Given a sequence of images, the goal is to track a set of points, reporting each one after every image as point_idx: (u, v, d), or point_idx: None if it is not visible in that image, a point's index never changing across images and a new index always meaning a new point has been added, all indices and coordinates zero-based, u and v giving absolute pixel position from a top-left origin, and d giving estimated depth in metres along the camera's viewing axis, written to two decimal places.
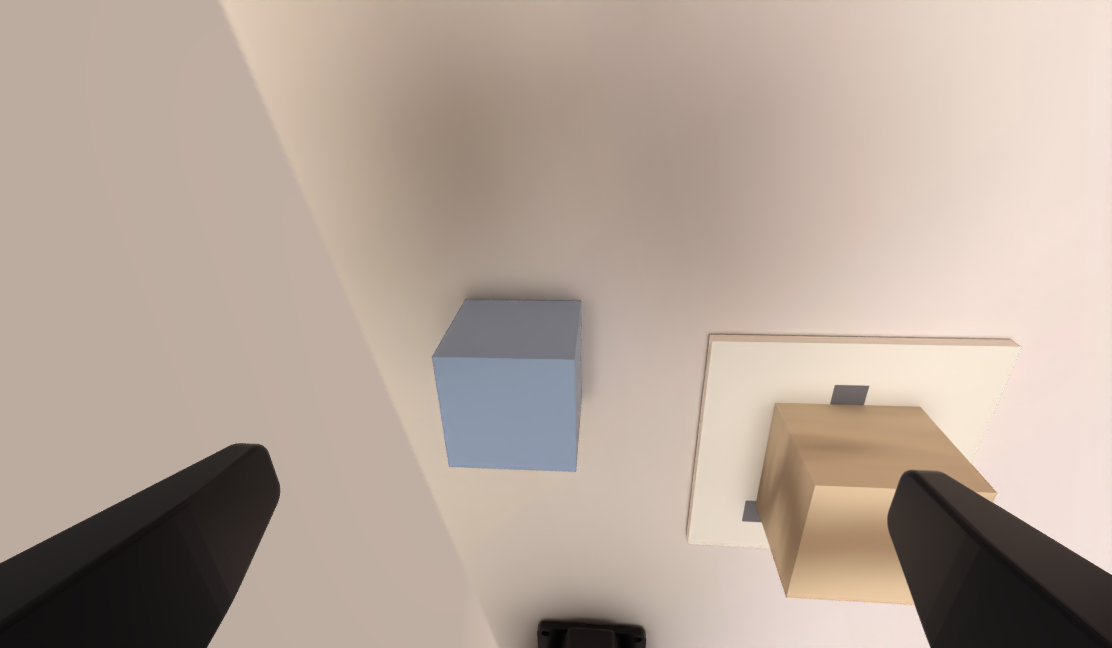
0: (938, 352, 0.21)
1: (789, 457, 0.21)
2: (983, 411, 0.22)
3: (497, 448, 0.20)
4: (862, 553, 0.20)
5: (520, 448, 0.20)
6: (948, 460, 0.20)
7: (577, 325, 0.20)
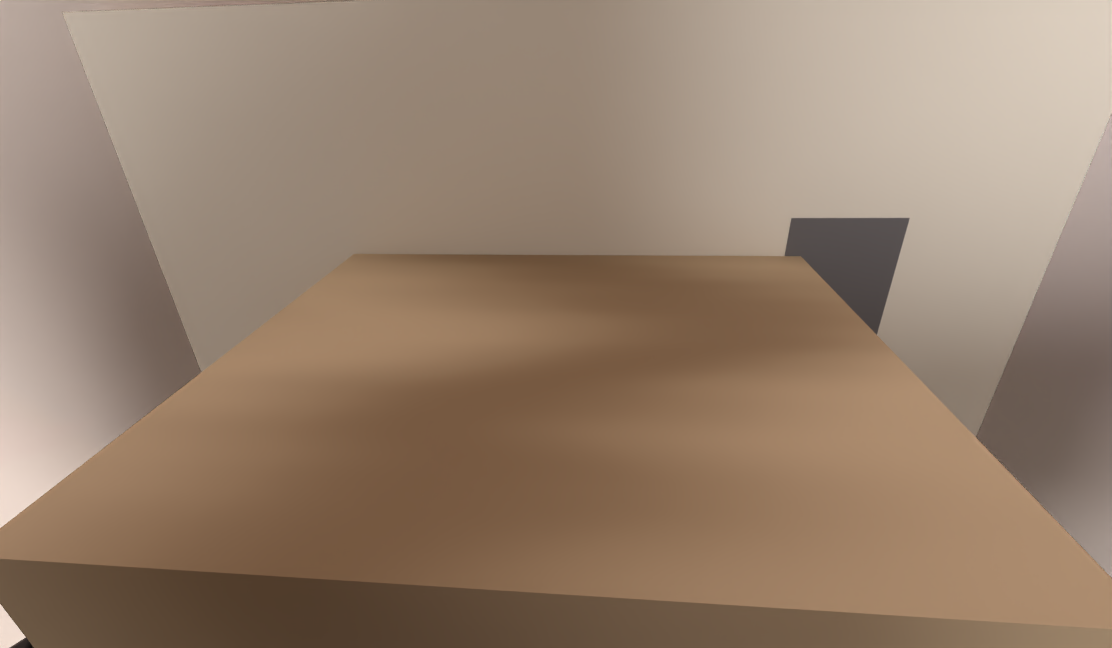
0: (177, 253, 0.08)
1: None
2: (322, 45, 0.06)
3: None
4: None
5: None
6: None
7: None
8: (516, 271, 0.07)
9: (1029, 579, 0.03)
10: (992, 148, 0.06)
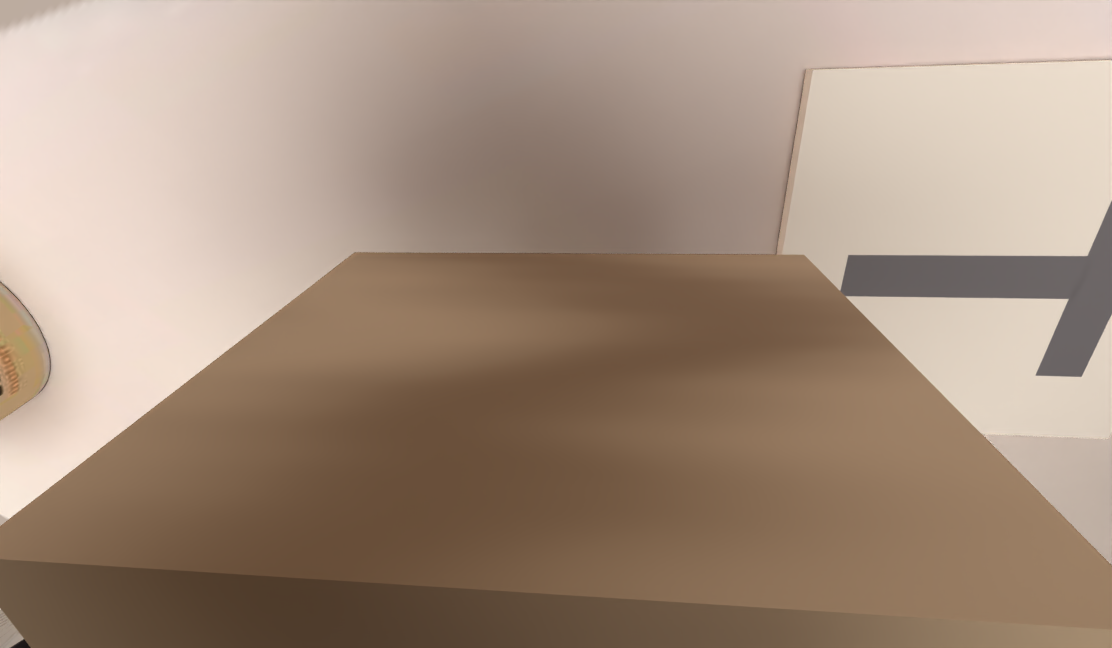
0: (806, 181, 0.16)
1: None
2: (931, 83, 0.14)
3: None
4: None
5: None
6: None
7: None
8: (518, 269, 0.07)
9: (1041, 580, 0.03)
10: None
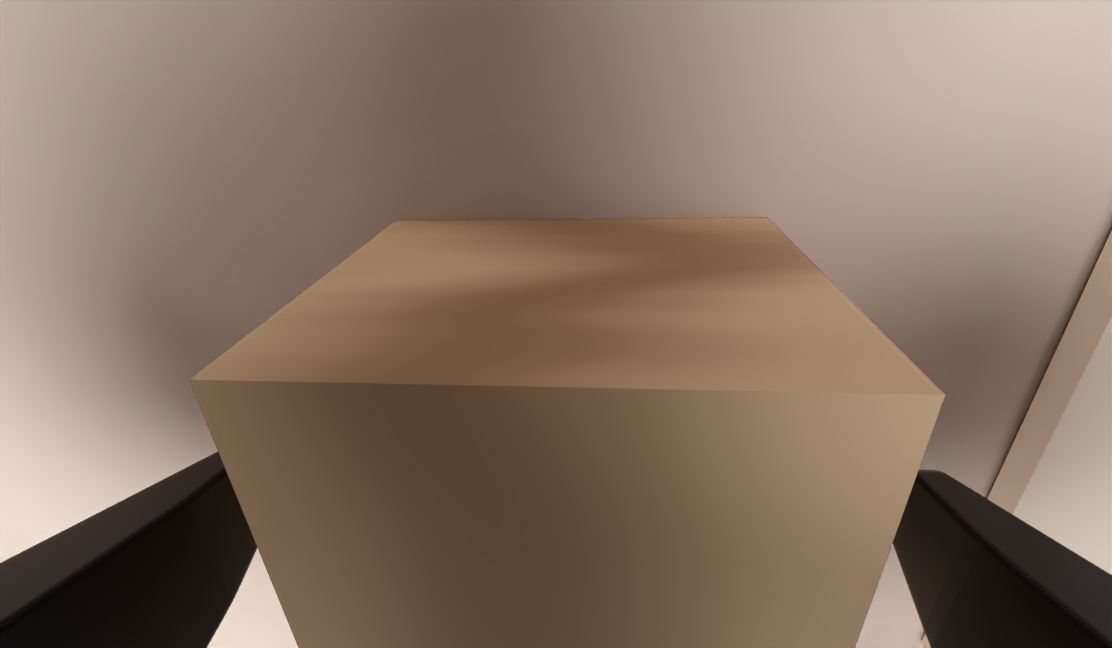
0: None
1: None
2: None
3: None
4: None
5: None
6: None
7: None
8: (533, 228, 0.08)
9: (873, 376, 0.04)
10: None
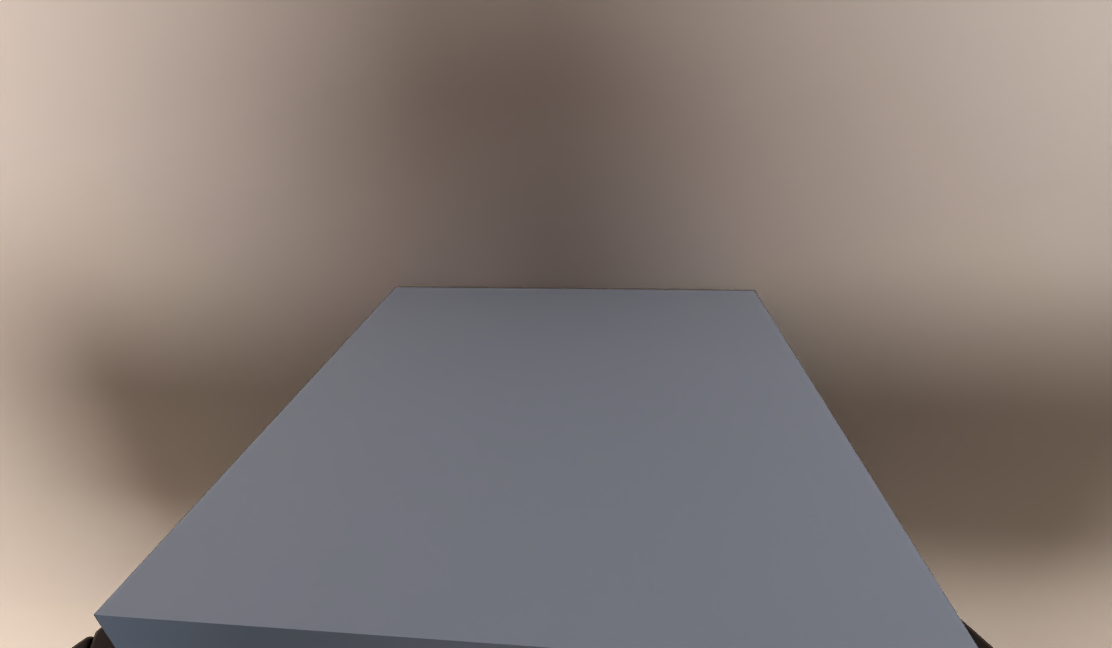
0: None
1: None
2: None
3: None
4: None
5: None
6: None
7: (317, 378, 0.05)
8: None
9: None
10: None
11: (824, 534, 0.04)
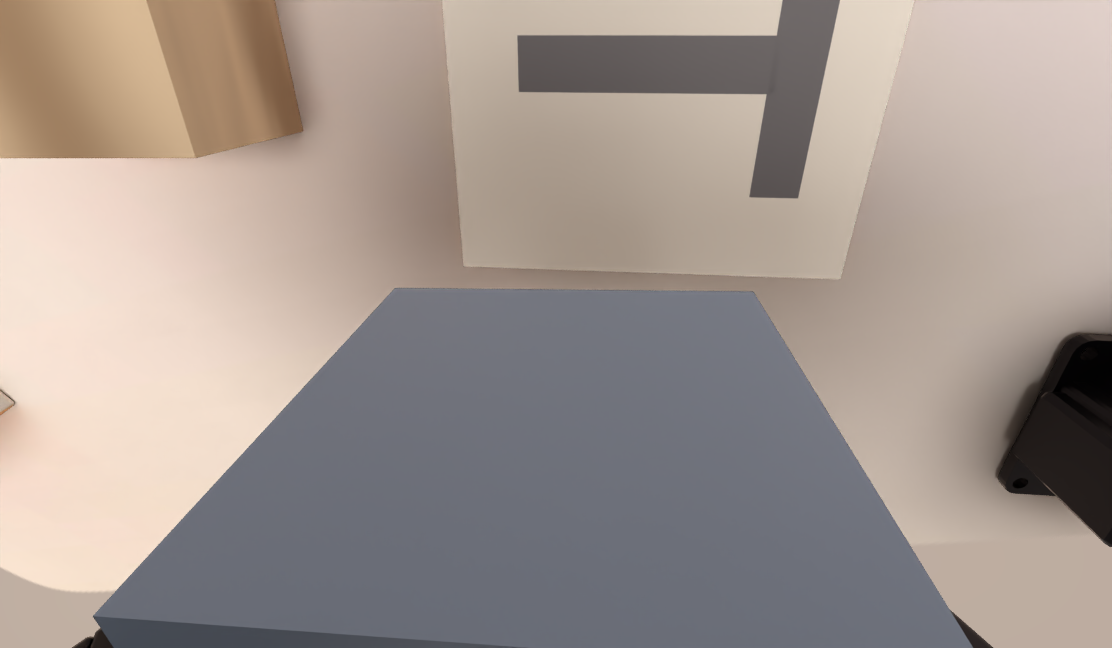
0: None
1: None
2: None
3: None
4: (40, 45, 0.11)
5: None
6: None
7: (316, 379, 0.05)
8: None
9: None
10: None
11: (821, 536, 0.04)
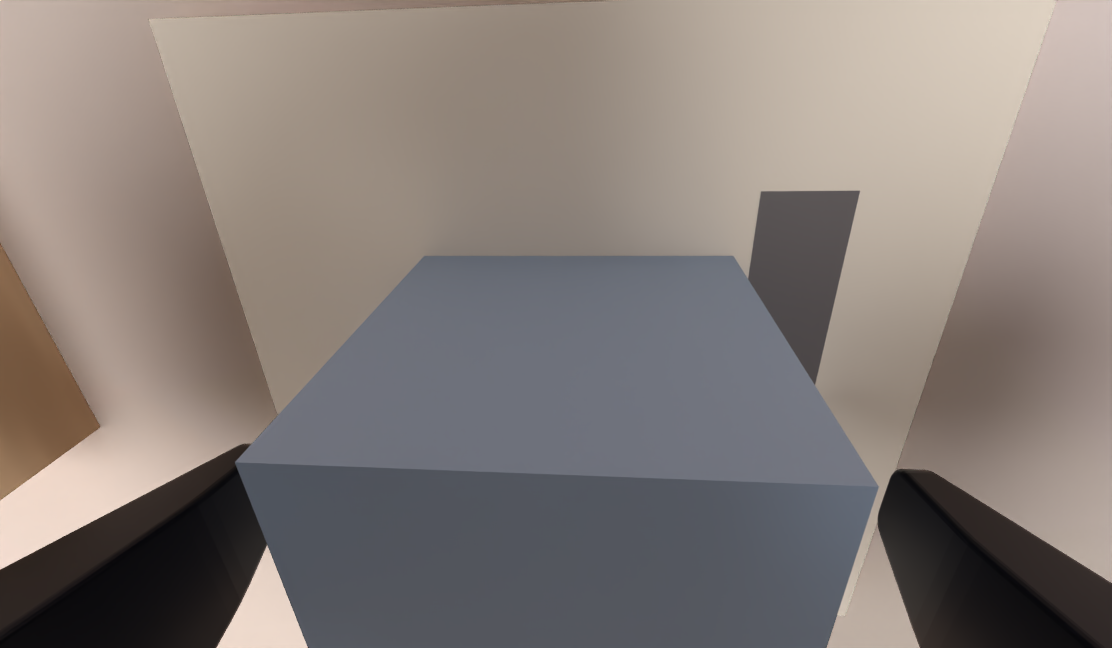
0: (235, 225, 0.09)
1: None
2: (367, 46, 0.07)
3: None
4: None
5: None
6: None
7: (368, 321, 0.07)
8: None
9: None
10: (926, 131, 0.07)
11: (769, 412, 0.05)
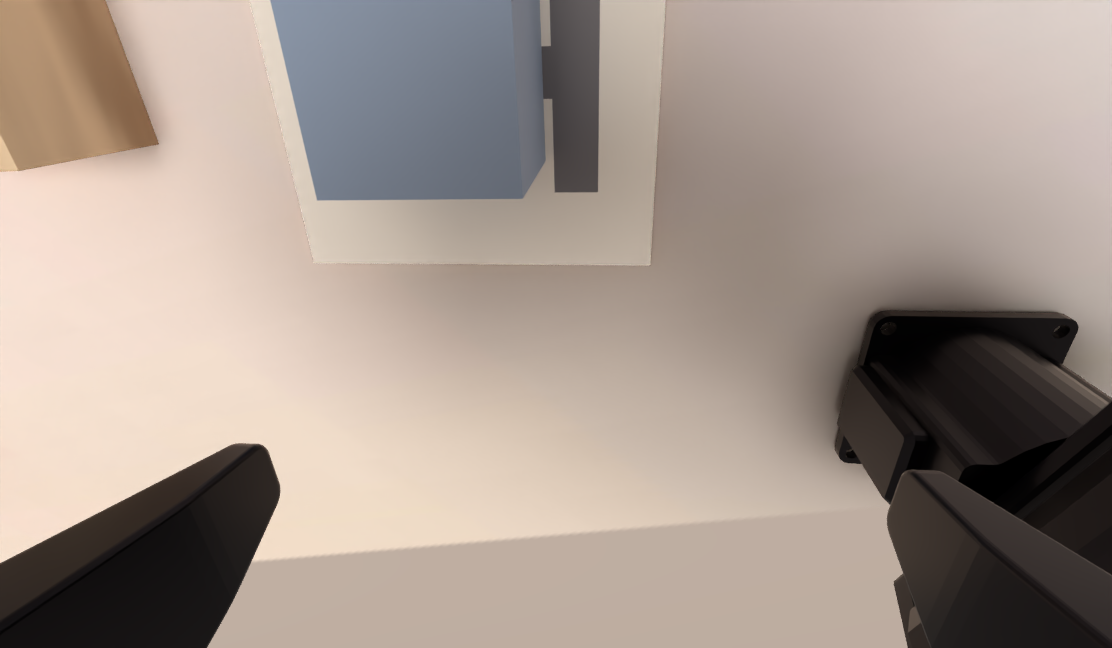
0: None
1: None
2: None
3: (472, 107, 0.11)
4: None
5: (465, 60, 0.11)
6: None
7: None
8: None
9: None
10: None
11: None
